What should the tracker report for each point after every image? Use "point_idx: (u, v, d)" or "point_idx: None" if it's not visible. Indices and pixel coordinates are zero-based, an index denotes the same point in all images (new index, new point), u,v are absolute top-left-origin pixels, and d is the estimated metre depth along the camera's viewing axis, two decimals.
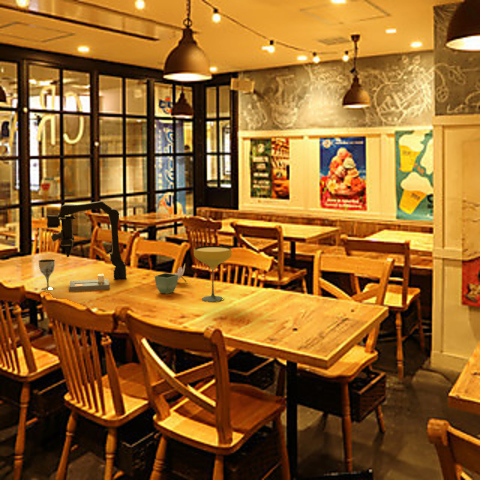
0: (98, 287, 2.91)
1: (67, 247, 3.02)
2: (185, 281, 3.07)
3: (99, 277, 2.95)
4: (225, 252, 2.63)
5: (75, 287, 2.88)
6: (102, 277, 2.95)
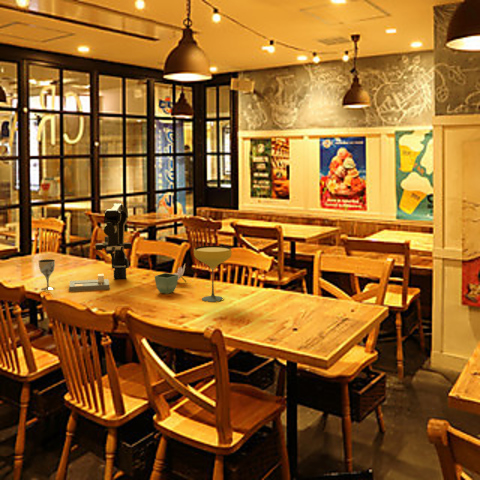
0: (98, 287, 2.91)
1: None
2: (185, 281, 3.07)
3: (99, 277, 2.95)
4: (225, 252, 2.63)
5: (75, 287, 2.88)
6: (102, 277, 2.95)
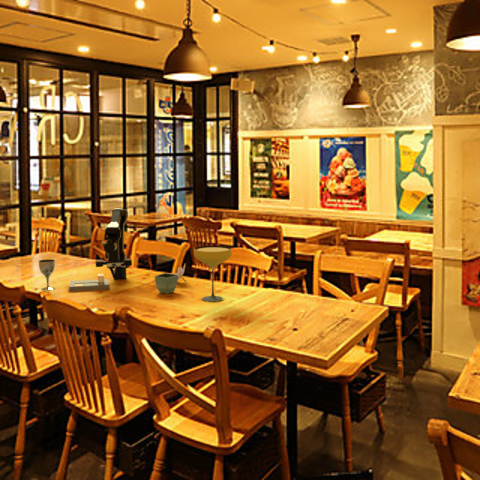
0: (98, 287, 2.91)
1: None
2: (185, 281, 3.07)
3: (99, 277, 2.95)
4: (225, 252, 2.63)
5: (75, 287, 2.88)
6: (102, 277, 2.95)
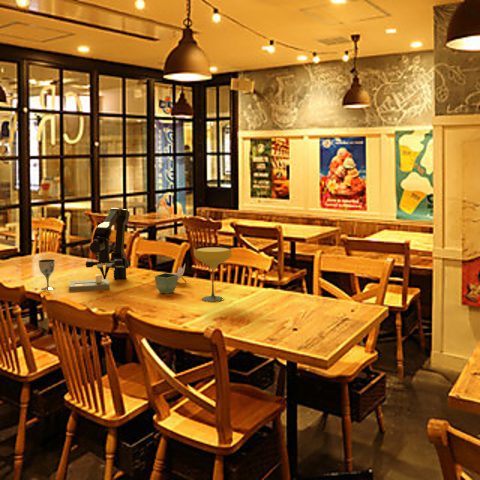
0: (98, 287, 2.91)
1: None
2: (185, 281, 3.07)
3: (97, 277, 2.94)
4: (225, 252, 2.63)
5: (75, 287, 2.88)
6: (100, 277, 2.95)
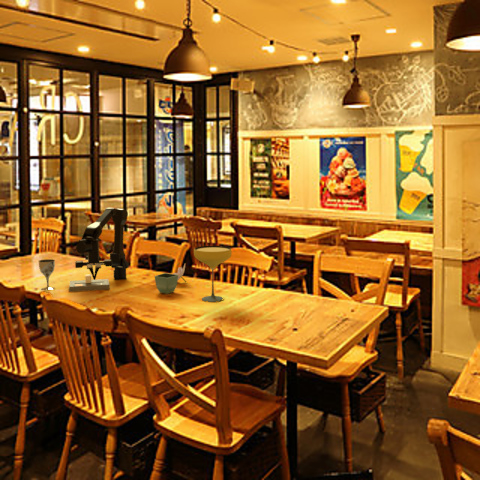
0: (98, 287, 2.91)
1: None
2: (185, 281, 3.07)
3: (86, 278, 2.93)
4: (225, 252, 2.63)
5: (75, 287, 2.88)
6: (89, 278, 2.93)
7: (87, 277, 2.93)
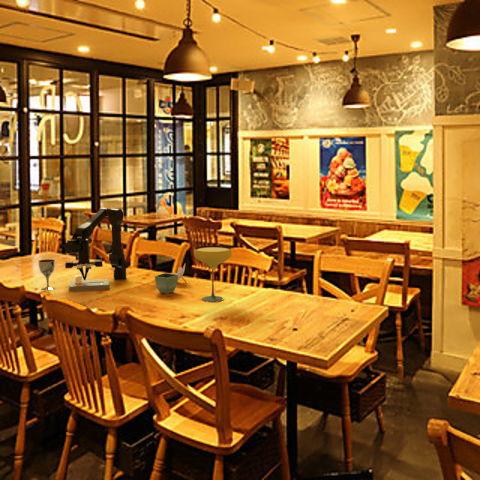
0: (98, 287, 2.91)
1: None
2: (185, 281, 3.07)
3: (76, 278, 2.92)
4: (225, 252, 2.63)
5: (75, 287, 2.88)
6: (79, 278, 2.92)
7: (77, 277, 2.92)
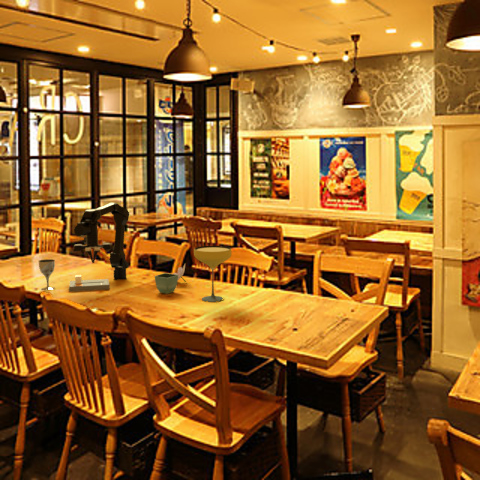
0: (98, 287, 2.91)
1: None
2: (185, 281, 3.07)
3: (76, 278, 2.92)
4: (225, 252, 2.63)
5: (75, 287, 2.88)
6: (79, 278, 2.92)
7: (77, 278, 2.92)
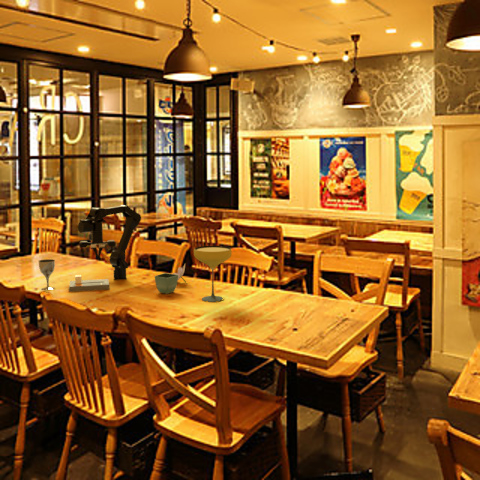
0: (98, 287, 2.91)
1: None
2: (185, 281, 3.07)
3: (76, 278, 2.92)
4: (225, 252, 2.63)
5: (75, 287, 2.88)
6: (79, 278, 2.92)
7: (77, 278, 2.92)
